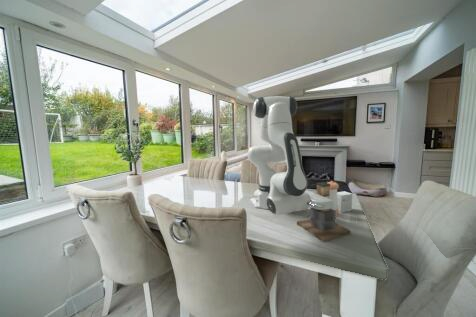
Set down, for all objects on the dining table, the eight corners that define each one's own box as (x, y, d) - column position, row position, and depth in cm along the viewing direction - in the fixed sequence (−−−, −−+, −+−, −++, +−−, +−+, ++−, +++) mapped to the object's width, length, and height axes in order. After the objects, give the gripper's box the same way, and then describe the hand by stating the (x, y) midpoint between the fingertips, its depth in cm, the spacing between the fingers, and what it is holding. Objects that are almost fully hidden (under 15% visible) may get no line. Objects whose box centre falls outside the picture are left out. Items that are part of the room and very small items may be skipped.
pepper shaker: (332, 217, 108) (333, 183, 106) (321, 213, 115) (322, 180, 112) (340, 214, 112) (342, 181, 109) (329, 210, 118) (330, 178, 115)
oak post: (315, 224, 98) (316, 183, 95) (322, 222, 100) (323, 182, 97) (322, 228, 94) (323, 185, 91) (329, 226, 96) (330, 184, 93)
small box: (343, 207, 122) (344, 190, 120) (351, 210, 116) (352, 193, 115) (333, 209, 119) (334, 192, 118) (341, 213, 114) (341, 195, 112)
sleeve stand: (296, 224, 103) (296, 205, 101) (321, 218, 108) (321, 200, 107) (323, 241, 86) (323, 219, 84) (350, 233, 92) (351, 213, 90)
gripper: (317, 200, 80) (343, 195, 85) (287, 187, 99) (309, 184, 104) (317, 215, 81) (342, 209, 86) (287, 200, 100) (309, 195, 105)
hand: (324, 195), depth 95 cm, fingers closed on oak post, 4 cm apart
